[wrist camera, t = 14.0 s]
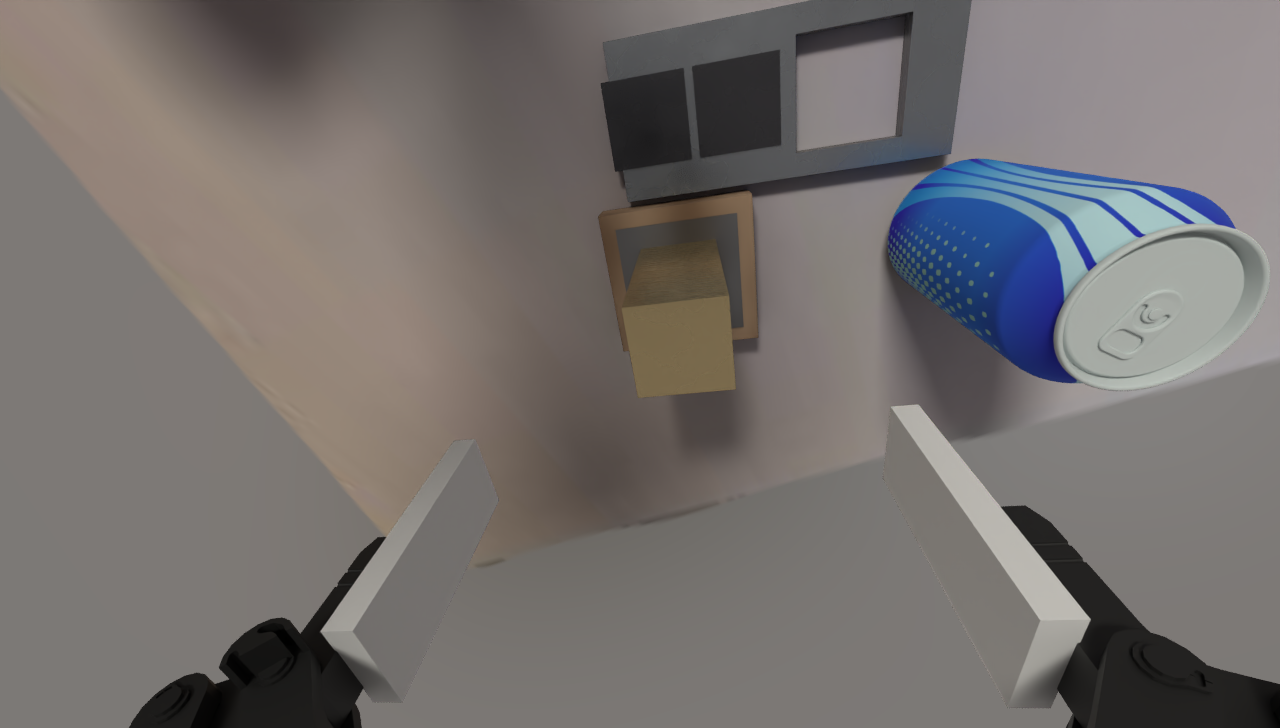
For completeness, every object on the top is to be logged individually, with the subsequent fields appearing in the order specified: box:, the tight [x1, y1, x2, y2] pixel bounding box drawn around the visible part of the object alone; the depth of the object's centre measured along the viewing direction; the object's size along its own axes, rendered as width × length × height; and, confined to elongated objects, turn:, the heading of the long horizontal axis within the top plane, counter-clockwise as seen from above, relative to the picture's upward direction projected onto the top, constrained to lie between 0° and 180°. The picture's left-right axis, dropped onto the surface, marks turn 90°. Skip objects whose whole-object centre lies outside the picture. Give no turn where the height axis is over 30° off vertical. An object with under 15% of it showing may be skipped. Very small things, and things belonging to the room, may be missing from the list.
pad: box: [598, 190, 758, 351], centre depth 33 cm, size 10×10×2 cm
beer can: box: [888, 159, 1270, 391], centre depth 24 cm, size 8×8×16 cm
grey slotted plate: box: [601, 0, 972, 202], centre depth 28 cm, size 20×9×1 cm, turn 99°
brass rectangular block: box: [622, 239, 736, 398], centre depth 28 cm, size 5×5×11 cm
